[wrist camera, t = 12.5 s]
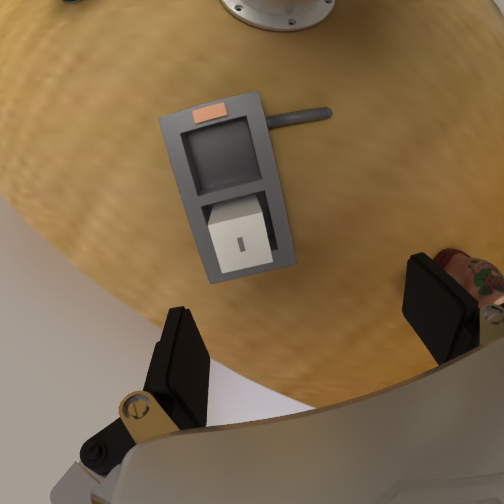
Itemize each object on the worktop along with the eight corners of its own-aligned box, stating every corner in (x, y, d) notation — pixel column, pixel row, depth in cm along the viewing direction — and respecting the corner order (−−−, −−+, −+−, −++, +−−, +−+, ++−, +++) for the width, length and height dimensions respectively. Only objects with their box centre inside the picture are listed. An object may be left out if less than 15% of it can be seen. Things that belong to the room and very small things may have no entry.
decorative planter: (371, 307, 35) (419, 378, 23) (403, 224, 31) (477, 276, 18) (457, 311, 38) (501, 359, 25) (484, 248, 33) (540, 288, 20)
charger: (213, 204, 28) (207, 225, 22) (255, 194, 28) (262, 212, 21) (224, 242, 30) (221, 274, 23) (264, 233, 30) (273, 262, 23)
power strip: (167, 120, 24) (157, 117, 21) (323, 85, 24) (336, 79, 20) (212, 268, 31) (210, 286, 28) (349, 235, 31) (363, 248, 27)
